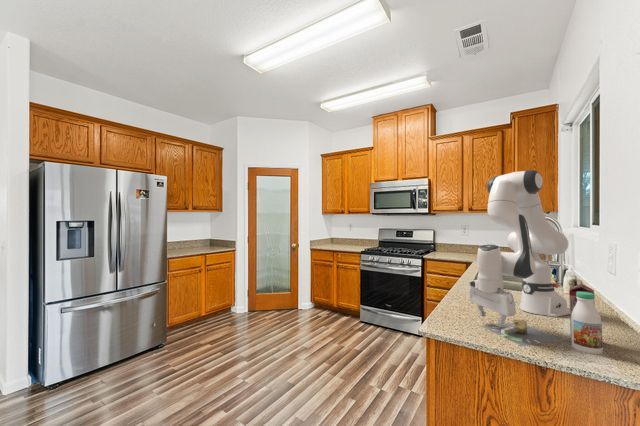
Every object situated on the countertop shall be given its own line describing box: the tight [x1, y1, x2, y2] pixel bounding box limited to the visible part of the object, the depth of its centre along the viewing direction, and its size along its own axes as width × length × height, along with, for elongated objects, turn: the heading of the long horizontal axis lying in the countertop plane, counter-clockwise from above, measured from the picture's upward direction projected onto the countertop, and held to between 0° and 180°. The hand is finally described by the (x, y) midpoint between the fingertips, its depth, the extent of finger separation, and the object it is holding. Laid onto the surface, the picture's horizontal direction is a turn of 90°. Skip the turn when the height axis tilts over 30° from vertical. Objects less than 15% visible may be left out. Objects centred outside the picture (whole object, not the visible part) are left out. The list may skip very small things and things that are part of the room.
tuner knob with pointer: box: [501, 319, 528, 334], centre depth 110 cm, size 12×4×4 cm, turn 113°
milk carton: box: [569, 280, 596, 331], centre depth 106 cm, size 7×7×22 cm
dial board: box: [481, 322, 566, 347], centre depth 111 cm, size 19×19×1 cm
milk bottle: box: [570, 291, 604, 355], centre depth 97 cm, size 8×8×20 cm
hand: (491, 319), depth 116 cm, fingers open, 8 cm apart
